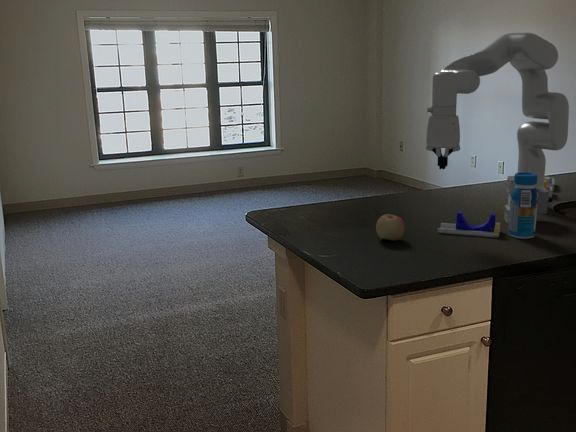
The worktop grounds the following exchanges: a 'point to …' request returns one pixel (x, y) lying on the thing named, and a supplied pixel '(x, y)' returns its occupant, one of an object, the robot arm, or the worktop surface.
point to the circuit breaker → (541, 199)
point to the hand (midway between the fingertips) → (442, 168)
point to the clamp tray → (548, 188)
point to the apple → (390, 227)
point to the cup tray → (551, 183)
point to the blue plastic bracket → (467, 226)
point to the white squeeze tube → (468, 231)
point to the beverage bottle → (523, 206)
